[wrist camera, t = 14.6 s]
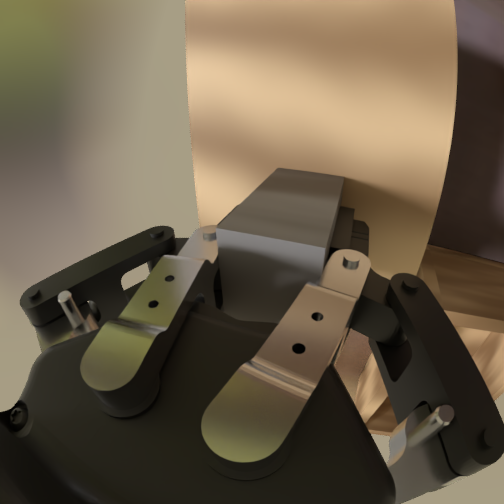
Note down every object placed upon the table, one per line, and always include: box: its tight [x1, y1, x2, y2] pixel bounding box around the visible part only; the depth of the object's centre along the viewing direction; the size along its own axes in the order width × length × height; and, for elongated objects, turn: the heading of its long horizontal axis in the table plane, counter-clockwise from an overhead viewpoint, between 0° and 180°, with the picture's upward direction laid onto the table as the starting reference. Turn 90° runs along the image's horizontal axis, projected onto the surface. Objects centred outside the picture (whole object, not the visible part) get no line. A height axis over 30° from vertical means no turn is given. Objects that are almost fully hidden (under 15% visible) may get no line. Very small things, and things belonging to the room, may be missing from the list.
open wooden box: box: [354, 244, 504, 436], centre depth 17 cm, size 18×16×10 cm
